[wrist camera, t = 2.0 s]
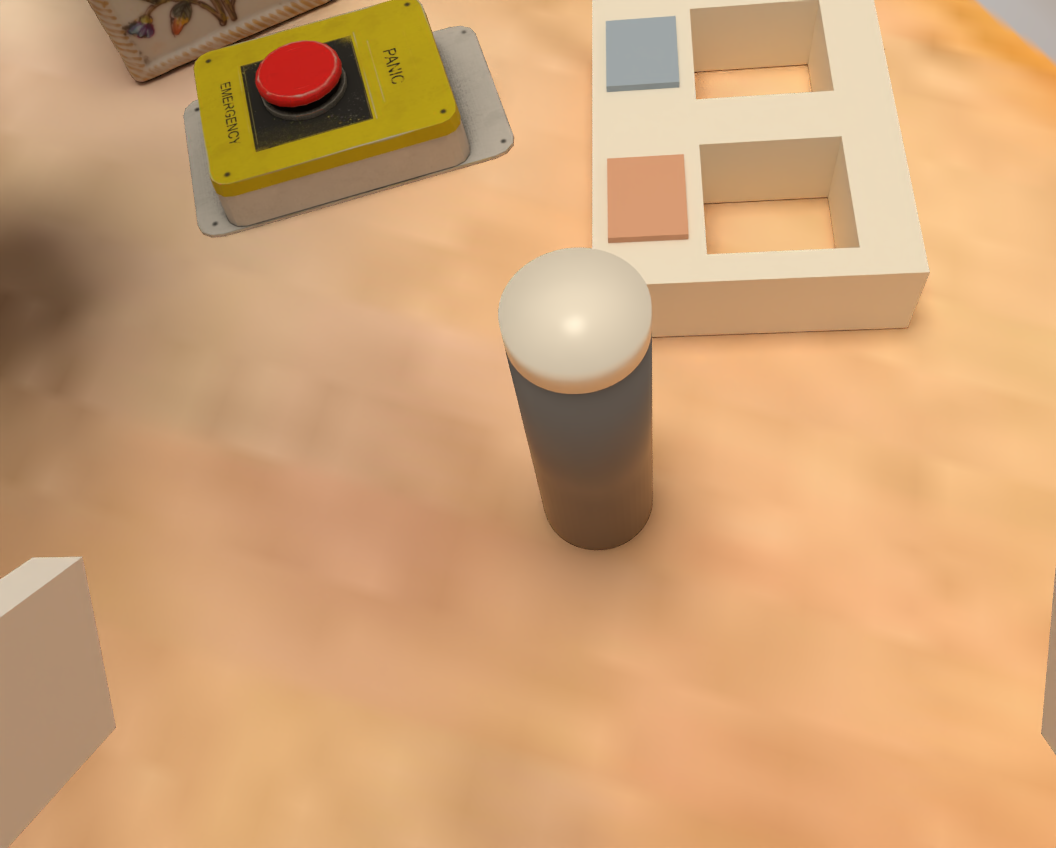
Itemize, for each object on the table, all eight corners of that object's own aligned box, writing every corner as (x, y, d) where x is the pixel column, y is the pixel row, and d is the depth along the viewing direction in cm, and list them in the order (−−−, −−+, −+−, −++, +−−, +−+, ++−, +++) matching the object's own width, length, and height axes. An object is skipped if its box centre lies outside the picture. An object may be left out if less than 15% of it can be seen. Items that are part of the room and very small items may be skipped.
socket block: (597, 339, 39) (591, 281, 36) (596, 59, 47) (592, -9, 44) (907, 327, 38) (931, 266, 35) (854, 42, 46) (870, -31, 42)
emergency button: (147, 41, 45) (458, -46, 46) (186, 113, 49) (473, 31, 50) (163, 183, 41) (508, 85, 41) (205, 250, 45) (520, 159, 45)
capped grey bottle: (542, 550, 35) (494, 376, 25) (544, 451, 37) (501, 251, 27) (654, 549, 35) (653, 371, 24) (651, 449, 37) (649, 244, 26)
